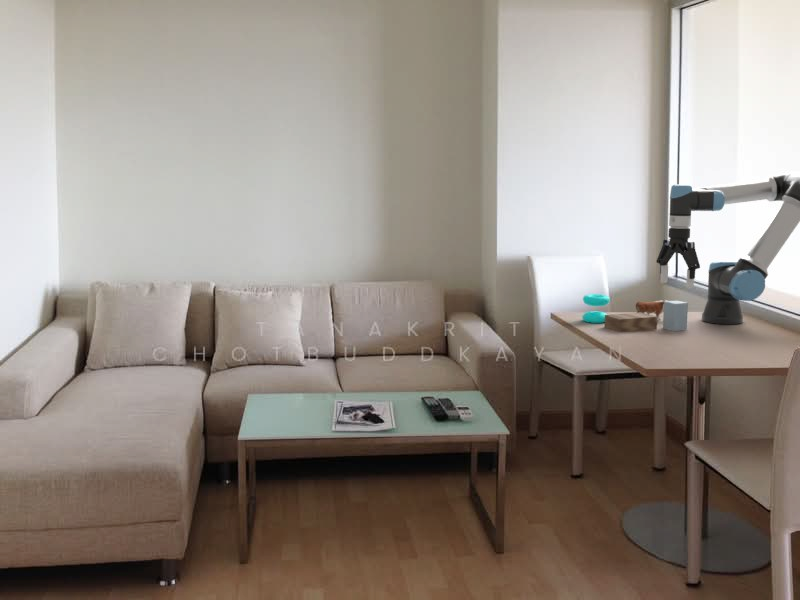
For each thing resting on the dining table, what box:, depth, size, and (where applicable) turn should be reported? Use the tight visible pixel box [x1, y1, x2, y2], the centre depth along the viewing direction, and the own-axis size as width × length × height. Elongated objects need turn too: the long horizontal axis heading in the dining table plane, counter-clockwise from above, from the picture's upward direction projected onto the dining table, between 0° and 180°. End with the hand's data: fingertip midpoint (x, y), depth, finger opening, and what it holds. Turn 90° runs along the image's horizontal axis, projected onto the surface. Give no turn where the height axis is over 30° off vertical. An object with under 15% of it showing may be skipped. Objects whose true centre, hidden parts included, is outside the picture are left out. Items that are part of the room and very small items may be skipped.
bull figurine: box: [635, 299, 668, 322], centre depth 372 cm, size 4×13×8 cm, turn 81°
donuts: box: [581, 293, 611, 324], centre depth 369 cm, size 10×10×10 cm
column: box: [662, 300, 689, 332], centre depth 354 cm, size 6×6×10 cm
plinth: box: [603, 312, 658, 333], centre depth 355 cm, size 16×10×5 cm, turn 111°
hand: (676, 285), depth 352 cm, fingers open, 13 cm apart
